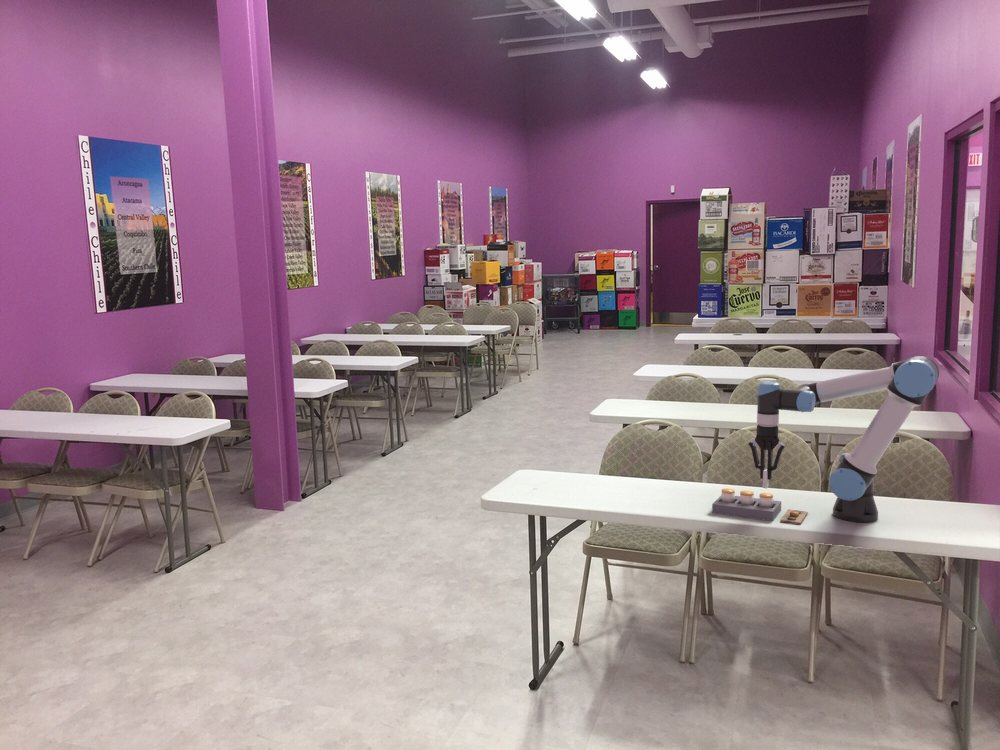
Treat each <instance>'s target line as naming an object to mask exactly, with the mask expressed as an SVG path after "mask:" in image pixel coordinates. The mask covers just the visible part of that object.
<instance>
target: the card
mask: <svg viewBox="0 0 1000 750" xmlns="http://www.w3.org/2000/svg"><path fill="white" fill-rule="evenodd" d="M808 515H809V511H807V510H806V511H804V510H796V509H790V508H789V509H787V510H786V511H785V513H784V514H783V515H782V517H780V520H779V522H780V523H785V524H792V525H802V524H803V522H804V520H805V519H806V517H807V516H808Z"/></svg>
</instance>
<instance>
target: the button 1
mask: <svg viewBox="0 0 1000 750" xmlns="http://www.w3.org/2000/svg"><path fill="white" fill-rule="evenodd" d="M735 492H736V490H735V489H733V488H722V489H721V494H720V496H721V502H727V503H734V502H735V496H736V495H735V494H736V493H735Z"/></svg>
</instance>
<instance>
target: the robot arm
mask: <svg viewBox="0 0 1000 750" xmlns="http://www.w3.org/2000/svg"><path fill="white" fill-rule="evenodd" d="M939 377H940V369H939V367H938V364H937V363H936V362H935V361H934V360H933V359H932V358H930V357H928V356H923V355H915V356H912V357H909V358H907V359H905V360H904V359H903V360H901V361H898V362H897V361H896V362H893V363H891V365H890V366H888V367H883V368H877V369H872V370H868V371H863V372H859V373H854V374H850V375H846V376H840V377H836V378H831V379H828V380H822V381H817V382H813V383H804V384H801V385H799V386H798V387H796V388H795V389H786V388H781V386H780V385H781V383H779V382H774V381H764V382H760V383H759V384H758V388H757V406H756V407H757V411H756V423H757V425H756V436H755V438H754V439H753V440H750V441H749V442H748V446H749V448H750V449H751V453H752V458H753V462H754V467H755V468H756V469H758V470H759V471H760V472H759V473H760V474H759V475H760V476H759V478H760V479H762V489H768V488H769V480H771V479H772V478H773V476H772V475H773V471H776V470H777V469H778V466H779V463H780V460H781V458H782V453H783V450H784V449H785V448H786V444H783V443H782V442H780V439H779V423H780V422H779V419H780V410H781V411H783V410H784V411H789V412H790V411H791V412H801V413H811V412H813V411H814V410H815V407H816V404H820V403H824V402H825V403H826V402H830V401H835V400H841V399H846V398H850V397H855V396H860V395H866V394H872V393H876V392H881V391H887V392H888V395H887V396H886V398H885V399H884V401H883V403H882V404H881V405H880V407H879V409H878V410H877V412H876V413H875V415H874V417H873V418H872V420H871V421H870V423H869V425H868V427H867V428H866V429H865V431H864V433H863V434H862V436H861V437H860V439H859V440H858V442H857V444H856V445H855V447H854V449H853V450H852V452H845V453H841V454H840V455H839V459H838V462H839V463H838V465H837V467H836V468H835V470H834V471H833V472H831V474H830V476H829V483H828V484H829V489H830V490H831V492H832V493H833V495H834V496H836V499H835V502H834V505H833V507H832V516H834V517H835V518H837V519H839V520H842V521H847V522H853V523H854V522H855V523H871V522H875V521H877V520H878V519H879V511H878V507H877V505H876V502H875V498H874V497H875V496H874V492H875V488H874V487H875V486H874V485H875V476H876V475H877V473H878V470H877V465H878V463H879V461H881V459H882V456H883V455H884V453H885V452H886V451H887V449H888V447H889V446H890V444H891V443H892V442H893V441H894V439H895V437H896V435H897V434H898V432H899V431H900V429H901V427H902V426H903V424H904V423H905V421H906V419H907V418H908V417H909V415H910V413H911V412H912V411H913V409H914V408H916V407H920V406H921V405H922V404H923V402H925V400H926V398H927V397H928V395H929V394H930V392H932V390H933V388H935V385H936V384H937V382H938V380H939V379H940V378H939ZM757 446H758V448H759V449H760V451H759V452H760V458H759V453H758V450H757ZM776 447H777V449H778V450H777V451H776V456H775V459H774V458H773V455H774V454H773V453H774V449H775V448H776ZM766 451H767V452H766ZM766 453H767V468H766ZM773 459H774V462H773Z"/></svg>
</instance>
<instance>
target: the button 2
mask: <svg viewBox="0 0 1000 750" xmlns="http://www.w3.org/2000/svg"><path fill="white" fill-rule="evenodd" d="M758 496H759V498H758V499H759V506H760V507H766V508H772V507H773V500H774V494H772V493H769V492H760V493H759V495H758Z"/></svg>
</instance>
